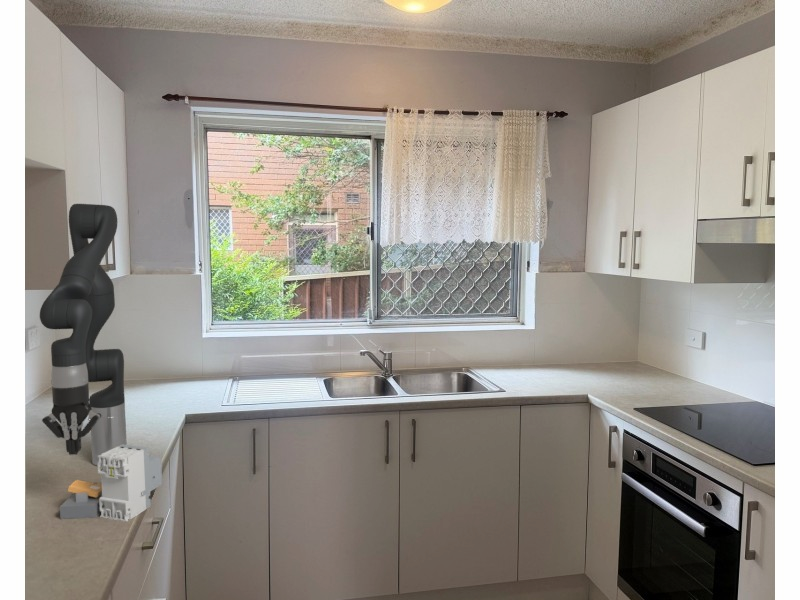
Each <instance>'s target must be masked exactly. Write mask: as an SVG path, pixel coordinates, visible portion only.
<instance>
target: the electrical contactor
mask: <svg viewBox="0 0 800 600" xmlns="http://www.w3.org/2000/svg"><path fill="white" fill-rule="evenodd" d="M149 450H150V449H149V447H147V446H139V445H132V444H127V445H125V444H122V445H120V446H118V447H115V448H113V449H111V450H109V451H107V452H105V453H102V454H101V455H98V457H99V462H98V466H97V474H100V481H101V485H102V497H100V498H99V505H100V511H101V513H100V515H99V518H101V517H103V518H102V519H107V518H109V519H108V520H113V519H114V520H115V521H119V520H121V521H120V522H125V521H126V523H127V522H128V521H129V520H131V519H133V518H135V517H136V516H138V515H139V514H141V513H143V512H144V511H145V510H147V509H148V508H149V509H150V507H151V506H152V505H151V504H152V503H151V501H152V499H151V498H150V497H151V492H152V491H154V490H155V489H156V488H159V487H161V486H162V485H163V472H162V471H163V470H162V469H163V463H162V455H157V454H151V453H150V452H149ZM101 467H102V468H101ZM102 505H104V507H103V508H102ZM108 516H109V517H108ZM128 519H129V520H128ZM114 520H113V521H114Z"/></svg>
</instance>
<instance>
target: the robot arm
mask: <svg viewBox="0 0 800 600" xmlns="http://www.w3.org/2000/svg"><path fill="white" fill-rule="evenodd" d="M68 227H69V234H70V240H71V245H72V251H73V252H72V253H73V256H71V258H70V259H69V260H68V261H67V262H66V264H65V265H64V267H63V269H62V273H61V276H60V279H59V282H58V284H57V285H56V286H55V287H54V289H53V290H52V291H51V293H50V294H49V295H48V296H47V297H46V298H45V300H44V301H43V302H42V305H41V307H40V310H39V320H40V323H41V324H42V325H43V327H45V328H47V330H48V329H49V330H72V332H71V335H70V336H69V337H64V338H59V339H56V340H54V341H53V342H52V343H51V345H50V353H51V354H50V356H51V375H50V376H51V380H50V383H51V391H52V405H53V407H52V409H51V413H50V414H48V415H46V416H44V417H43V418H42V419H41V421H42V423H43V424H44V425H45V426H46V427H47V428H48V429H49V430H50V431H51V432H52V433H53V434H54V435H55V437H56V438H58V439H60V438H62V439H65V448H66V452H67V453H68V455H70V456H73V455H77V454H78V453H79V452H80V451H81V450H82V438H83V437H85V436H86V435H88V434H89V433H90V438H91V439H90V440H91V442H90V443H91V461H92V465H94V466H97V467H98V462H99V457H98V455H101V454H102V453H105V452H107V451H109V450H111V449H113V448H115V447H118V446H120V445H122V444H125V445H128V443H127V425H126V424H127V423H126V422H127V421H126V401H125V400H126V398H125V382H124V381H125V378H124V377H125V358H124V353H123V351H122V350H121V349H120V348H107V349H106V348H105V349H94V347H95V343H96V339H97V338H98V336H99V334H100V332H101V330H102V329H103V327H104V326H105V325H106V323H107V322H108V320H109V318H110V317H111V315H112V314H113V311H115V310H114V309H115V307H116V299H115V287H114V286H115V285H114V283H113V279H111V277H110V276H109V275H108V273H107V271H105V269H104V268H103V267H102V266H101V265H100V264H101V262H102V260H103V259H104V257H105V255H106V253H107V251H108V249H109V248H110V246H111V244H112V241H113V240H114V238H115V236H116V232H117V229H118V214H117V210H115V208H114V207H113V206H111V205H107V204H96V203H95V204H94V203H93V204H91V203H74V204H72V205H71V206H70V207H69V212H68ZM90 239H91V241H89V240H90ZM98 382H99V383H100V382H102V383H103V382H111V384H110V385H108V386H107V387H106V388H103V389H101V390H99V391H96V392H94V393H92V394H91V395H90V391H89V390H90V389H89V388H90V387H89V383H98ZM87 417H88V418H87ZM86 419H87V420H88V423H87V424H86V425H85V426H84V428H83V425H84V422H85V420H86Z"/></svg>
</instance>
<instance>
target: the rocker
mask: <svg viewBox="0 0 800 600" xmlns="http://www.w3.org/2000/svg"><path fill="white" fill-rule="evenodd" d="M94 483H95V482H88V481H84V480H80V479H76V480H74V481H73V482H72V483H71V484H70V485H69V486H68V490H67V492H70V493H72V494H73V493H87V492H88V496H92V497H98V496H99V495H100V494H101V493H102V484H98V483H97V484H94Z"/></svg>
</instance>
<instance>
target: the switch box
mask: <svg viewBox="0 0 800 600" xmlns="http://www.w3.org/2000/svg"><path fill="white" fill-rule="evenodd" d="M93 483H94V484H98V482H93ZM100 497H102V493H101V494H100V495H99V496H98V497H92V496H88V492H87V493H73V492H72V494H71V495H70V496H69V497H68V498H67V499H65V501H64V502H63V503H62V504H61V505H60V506H59V517H60V520H66V519H67V520H68V519H69V520H70V519H87V518H97V517H98V516H100V515H101V511H100V505H99V498H100ZM103 507H104V505H102V508H103Z"/></svg>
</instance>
